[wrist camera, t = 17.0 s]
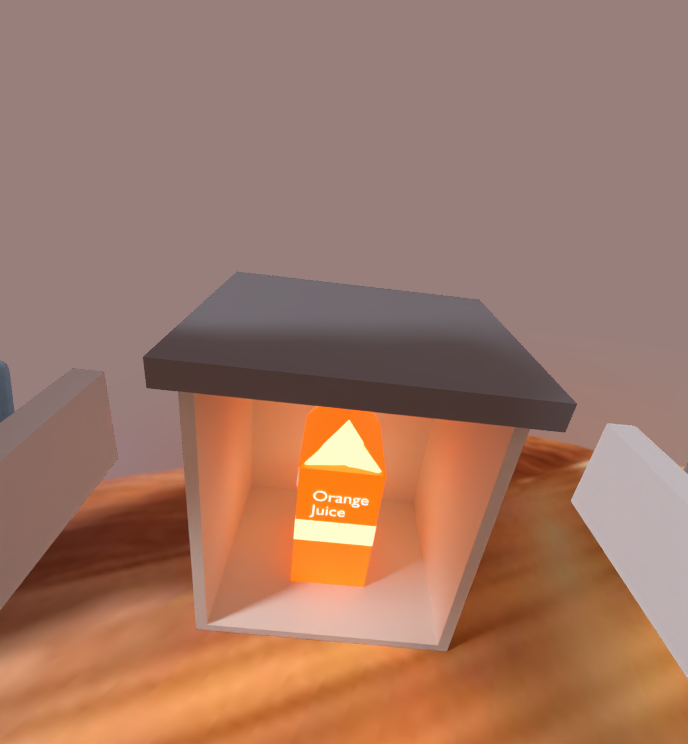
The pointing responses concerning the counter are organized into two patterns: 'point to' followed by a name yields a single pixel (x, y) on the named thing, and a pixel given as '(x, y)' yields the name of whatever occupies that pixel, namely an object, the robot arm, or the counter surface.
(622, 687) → the counter surface
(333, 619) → the under-counter cabinet
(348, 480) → the orange juice
